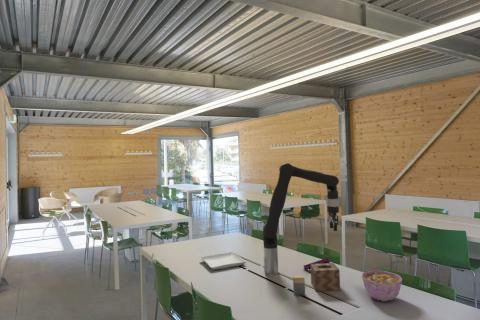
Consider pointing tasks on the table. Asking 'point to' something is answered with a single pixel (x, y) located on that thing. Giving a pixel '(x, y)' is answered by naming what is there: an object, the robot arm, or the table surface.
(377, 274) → the bowl of food
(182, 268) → the table surface
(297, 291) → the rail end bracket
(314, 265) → the patterned tissue box
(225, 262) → the square plate
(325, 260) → the mounting bracket
